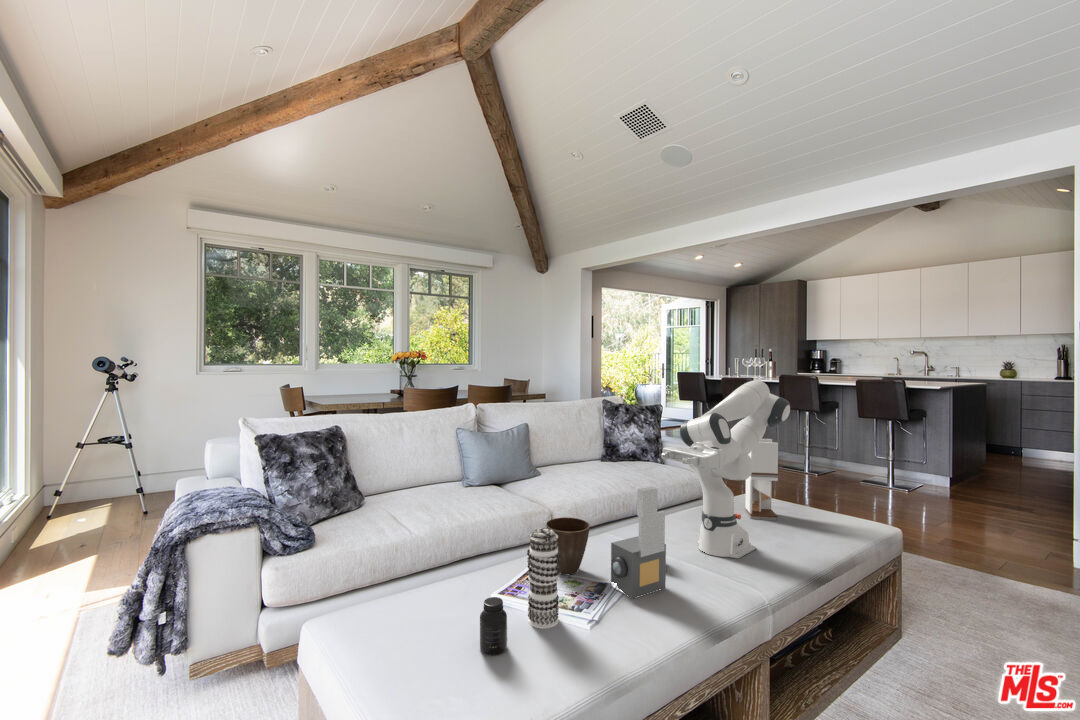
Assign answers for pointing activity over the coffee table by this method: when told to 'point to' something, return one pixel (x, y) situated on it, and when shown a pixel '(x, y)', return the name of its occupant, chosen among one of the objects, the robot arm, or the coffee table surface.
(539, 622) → the black white cylinder
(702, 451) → the robot arm
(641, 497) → the side door
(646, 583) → the block
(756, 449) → the white cabinet
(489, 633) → the supplement bottle
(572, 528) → the plant pot
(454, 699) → the coffee table surface
